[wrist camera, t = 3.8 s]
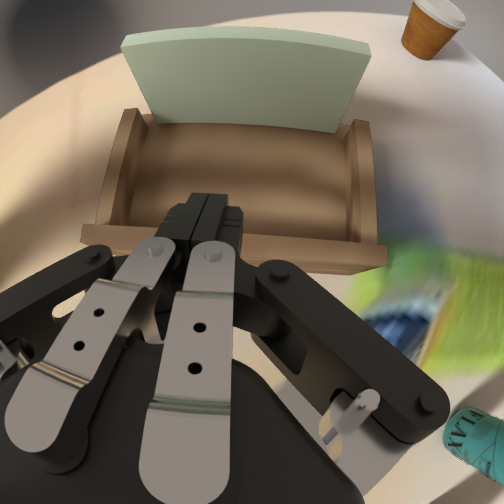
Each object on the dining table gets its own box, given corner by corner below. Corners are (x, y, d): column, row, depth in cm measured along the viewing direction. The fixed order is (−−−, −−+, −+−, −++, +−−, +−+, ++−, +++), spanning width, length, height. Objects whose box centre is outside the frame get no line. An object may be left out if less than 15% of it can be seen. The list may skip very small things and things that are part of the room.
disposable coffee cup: (436, 75, 35) (468, 31, 23) (387, 45, 36) (411, -5, 24) (441, 51, 36) (468, 12, 24) (398, 25, 37) (419, -19, 25)
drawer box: (360, 275, 30) (400, 265, 21) (113, 257, 30) (68, 241, 21) (356, 141, 32) (384, 97, 23) (139, 128, 32) (113, 84, 23)
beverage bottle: (459, 394, 27) (574, 432, 7) (476, 417, 26) (576, 456, 7) (427, 433, 26) (531, 498, 7) (446, 453, 26) (537, 512, 6)
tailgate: (334, 133, 29) (371, 56, 17) (157, 123, 29) (120, 47, 17) (333, 117, 29) (366, 39, 17) (161, 107, 29) (129, 31, 17)
